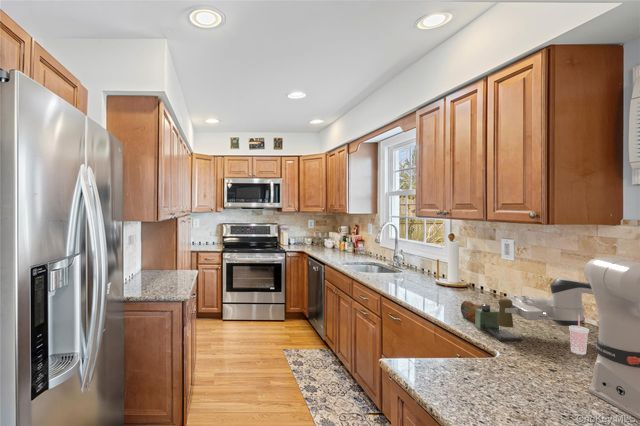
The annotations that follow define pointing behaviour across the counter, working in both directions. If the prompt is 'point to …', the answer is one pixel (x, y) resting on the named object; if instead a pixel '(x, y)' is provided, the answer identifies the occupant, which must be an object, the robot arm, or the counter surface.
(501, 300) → the cork
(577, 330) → the beverage cup
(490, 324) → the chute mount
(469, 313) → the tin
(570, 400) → the counter surface
